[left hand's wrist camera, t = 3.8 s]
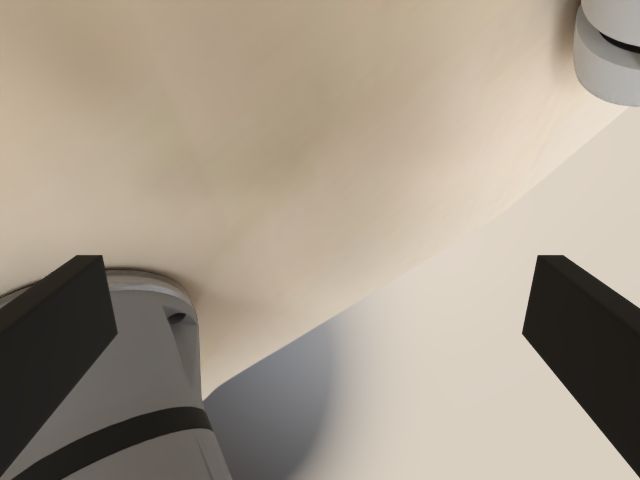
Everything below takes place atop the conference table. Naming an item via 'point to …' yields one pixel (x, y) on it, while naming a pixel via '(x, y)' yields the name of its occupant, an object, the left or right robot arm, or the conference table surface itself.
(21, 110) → the conference table surface
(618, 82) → the projector
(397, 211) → the conference table surface
